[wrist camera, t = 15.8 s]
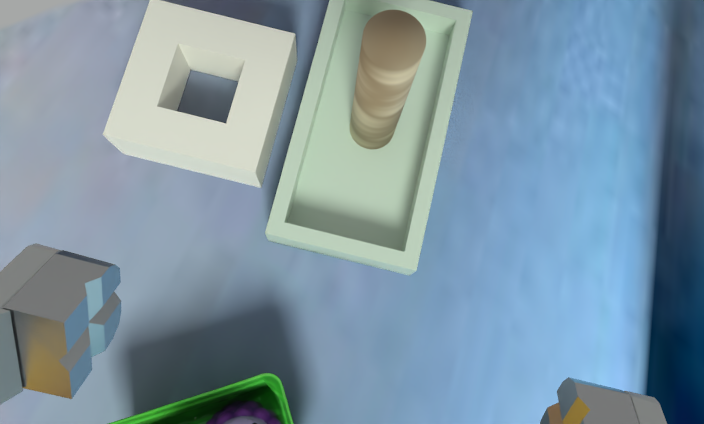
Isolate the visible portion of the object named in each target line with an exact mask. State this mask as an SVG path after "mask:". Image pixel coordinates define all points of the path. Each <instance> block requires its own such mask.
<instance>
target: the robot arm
mask: <svg viewBox="0 0 704 424" xmlns="http://www.w3.org/2000/svg"><path fill="white" fill-rule="evenodd" d="M120 282H121V281H120V268H119V267H118V266H116V265H115V264H111V263H107V262H104V261H100V260H97V259H93V258H89V257H86V256H82V255H78V254H75V253H71V252H67V251H64V250H62V251H61V250H58V249H54V248H50V247H47V246H43V245H40V244H33V245H30V246H27V247H26V248H25V249H24V250H23V251H22V252H21V253H20V254H19V255H18V256H16V257H15V258H14V259H13V260H12V261H11V262H10V263H9V264H8V265H7V266H6V267H5V268H4V269H3V270H2V271H1V272H0V404H2V403H4V402H5V401H7V400H9V399H10V398H12V397H14V396H15V395H17V394H19V393H20V392H22V391H23V388H25V389H29V390H34V391H38V392H43V393H47V394H51V395H56V396H60V397H65V398H69V399H72V398H73V397H74V395H75V394H76V392H77V391H78V389H79V388H80V386H81V385H82V384H83V382H84V381H85V379H86V378H87V376H88V375H89V373H90V372H91V371H92V360H91V357H93V356H95V355H97V354H99V353H102V352H104V351H105V350H106V348H107V347H108V345H109V344H110V342H111V341H112V339H113V337H114V335H115V332H116V330H117V327H118V325H119V321H120V315H121V300H120V299H119V297H118V296H117V295H116V293H115V292H114V291H115V289H116V288H117V286H118V285H119V284H120ZM557 395H558V400H559V403H556V404H554V405H552V406H550V407H548V408H547V409H546V411H545V413H544V415H543V417H542V419H541V422H540V424H667V423H666V420H665V417H664V415H663V412H662V409H661V406H660V404H659V402H658V401H657V400H656V399H655V398H654V397H650V396H645V395H641V394H637V393H633V392H628V391H622V390H619V389H615V388H611V387H606V386H602V385H598V384H594V383H590V382H586V381H581V380H577V379H573V378H569V377H568V378H567V379H566V380H564V381H563V382H562V384H561V385H560V387H559V389H558V390H557Z"/></svg>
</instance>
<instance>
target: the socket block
mask: <svg viewBox="0 0 704 424" xmlns="http://www.w3.org/2000/svg"><path fill="white" fill-rule="evenodd" d="M296 64H297V50H296V38H295V33H291V32H287V31H282V30H278V29H274V28H270V27H266V26H262V25H258V24H254V23H250V22H246V21H242V20H238V19H234V18H230V17H226V16H222V15H218V14H214V13H210V12H206V11H202V10H198V9H194V8H190V7H186V6H182V5H178V4H173V3H169V2H165V1H161V0H150V2H149V5H148V7H147V10H146V13H145V16H144V19H143V22H142V25H141V27H140V30H139V33H138V36H137V39H136V42H135V45H134V47H133V50H132V53H131V56H130V59H129V62H128V65H127V67H126V70H125V73H124V76H123V79H122V82H121V85H120V87H119V90H118V93H117V96H116V99H115V102H114V104H113V107H112V110H111V113H110V116H109V119H108V122H107V124H106V127H105V130H104V133H103V135H104V136H105V137H106V138H107V139H108V140H109V141H110V142H111V143H112V144H113V145H114V146H115V147H116V148H117V149H119V150H120V151H121V152H122V153H123V154H126V155H130V156H134V157H138V158H142V159H146V160H150V161H154V162H158V163H163V164H167V165H171V166H175V167H179V168H183V169H187V170H191V171H195V172H199V173H203V174H207V175H211V176H215V177H219V178H223V179H227V180H231V181H235V182H239V183H243V184H248V185H252V186H256V187H260V188H261V187H262V184H263V180H264V177H265V173H266V169H267V166H268V162H269V159H270V155H271V152H272V148H273V145H274V141H275V138H276V134H277V131H278V127H279V124H280V120H281V117H282V113H283V109H284V106H285V102H286V99H287V95H288V92H289V88H290V85H291V81H292V78H293V74H294V71H295V67H296ZM190 70H194V71H198V72H202V73H206V74H210V75H214V76H218V77H222V78H226V79H230V80H234V81H238V86H237V89H236V92H235V95H234V99H233V102H232V105H231V109H230V112H229V115H228V118H227V122H226V123H222V122H218V121H214V120H210V119H206V118H202V117H198V116H194V115H190V114H186V113H182V112H178V111H177V110H178V107H179V104H180V101H181V98H182V95H183V92H184V89H185V86H186V83H187V79H188V76H189V73H190Z"/></svg>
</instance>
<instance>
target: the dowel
mask: <svg viewBox="0 0 704 424" xmlns="http://www.w3.org/2000/svg"><path fill="white" fill-rule="evenodd" d="M425 47H426V34H425V31H424V28H423V26H422V25H421V23H420V22H419V21H418V20H417V19H416V18H415V17H414V16H412V15H411V14H409V13H407V12H404V11H401V10H385V11H382V12H379V13H377V14H376V15H374V16H373V17H372V18H371V19H370V20H369V21H368V22H367V24H366V26H365V28H364V30H363V36H362V43H361V50H360V57H359V64H358V71H357V78H356V85H355V92H354V99H353V106H352V113H351V120H350V134H351V136H352V138H353V140H354V141H355V142H356V143H357V144H358V145H360V146H361V147H363V148H366V149H379V148H382V147H384V146H385V145H387V144H388V143H389V142H390V141H391V139H392V137H393V135H394V132H395V129H396V126H397V124H398V121H399V118H400V116H401V113H402V110H403V107H404V105H405V102H406V99H407V96H408V94H409V91H410V88H411V86H412V83H413V80H414V77H415V75H416V72H417V69H418V66H419V64H420V61H421V58H422V55H423V53H424V50H425Z"/></svg>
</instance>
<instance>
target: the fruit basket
mask: <svg viewBox="0 0 704 424" xmlns="http://www.w3.org/2000/svg"><path fill="white" fill-rule="evenodd" d="M109 424H294V423H293V420H292V416H291V413H290V409H289V405H288V402H287V398H286V395H285V391H284V387H283V384H282V382H281V380H280V379H279V378H278V377H277V376H276V375H274V374H271V373H263V374H260V375H257V376H254V377H251V378H248V379H245V380H242V381H239V382H236V383H233V384H230V385H227V386H224V387H221V388H218V389H215V390H212V391H209V392H206V393H203V394H200V395H196V396H193V397H190V398H187V399H184V400H181V401H177V402H174V403H171V404H168V405H164V406H162V407H159V408H156V409H153V410H150V411H147V412H144V413H141V414H137V415H134V416H131V417H128V418H125V419H121V420H118V421H115V422H112V423H109Z"/></svg>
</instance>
